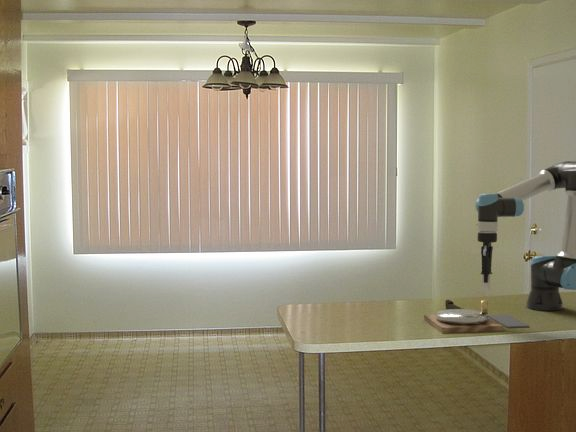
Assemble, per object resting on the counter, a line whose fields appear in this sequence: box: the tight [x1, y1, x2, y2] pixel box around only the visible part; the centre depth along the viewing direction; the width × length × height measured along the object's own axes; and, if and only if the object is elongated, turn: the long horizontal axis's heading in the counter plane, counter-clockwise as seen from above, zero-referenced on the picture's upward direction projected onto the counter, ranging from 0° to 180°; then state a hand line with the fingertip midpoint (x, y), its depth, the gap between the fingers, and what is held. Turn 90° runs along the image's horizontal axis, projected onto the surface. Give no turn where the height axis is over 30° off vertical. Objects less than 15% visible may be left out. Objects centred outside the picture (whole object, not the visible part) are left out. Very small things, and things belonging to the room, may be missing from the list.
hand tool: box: [444, 299, 462, 310], centre depth 324 cm, size 19×4×5 cm, turn 5°
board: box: [423, 313, 504, 334], centre depth 300 cm, size 24×24×2 cm
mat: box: [488, 313, 530, 329], centre depth 305 cm, size 9×22×1 cm, turn 6°
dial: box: [436, 299, 489, 325], centre depth 300 cm, size 20×20×7 cm
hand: (486, 290), depth 305 cm, fingers closed
